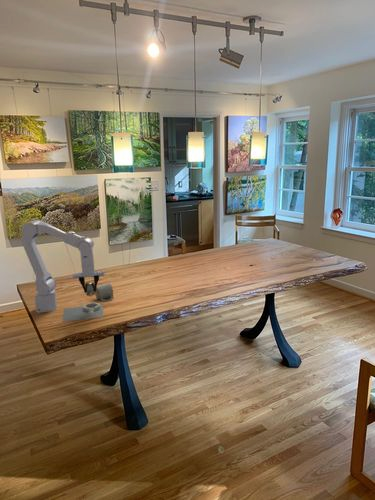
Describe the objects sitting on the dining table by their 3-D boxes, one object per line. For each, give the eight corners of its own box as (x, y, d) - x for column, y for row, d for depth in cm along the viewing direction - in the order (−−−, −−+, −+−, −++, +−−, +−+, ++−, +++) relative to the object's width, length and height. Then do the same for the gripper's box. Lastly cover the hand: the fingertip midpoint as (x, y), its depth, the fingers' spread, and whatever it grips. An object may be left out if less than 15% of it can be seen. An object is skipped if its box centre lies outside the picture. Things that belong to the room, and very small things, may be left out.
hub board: (62, 323, 168) (62, 318, 168) (64, 310, 183) (63, 305, 183) (103, 318, 173) (103, 313, 172) (102, 305, 188) (101, 301, 187)
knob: (85, 293, 182) (84, 282, 181) (94, 292, 184) (93, 281, 182) (86, 296, 178) (85, 285, 176) (95, 295, 179) (94, 284, 178)
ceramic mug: (94, 297, 199) (93, 284, 197) (109, 294, 203) (108, 281, 201) (100, 304, 190) (99, 290, 188) (116, 301, 194) (115, 287, 192)
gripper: (71, 267, 172) (74, 296, 175) (103, 264, 175) (106, 292, 179) (71, 263, 179) (74, 291, 182) (103, 261, 182) (105, 287, 185)
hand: (90, 291), depth 181 cm, fingers closed on knob, 4 cm apart
